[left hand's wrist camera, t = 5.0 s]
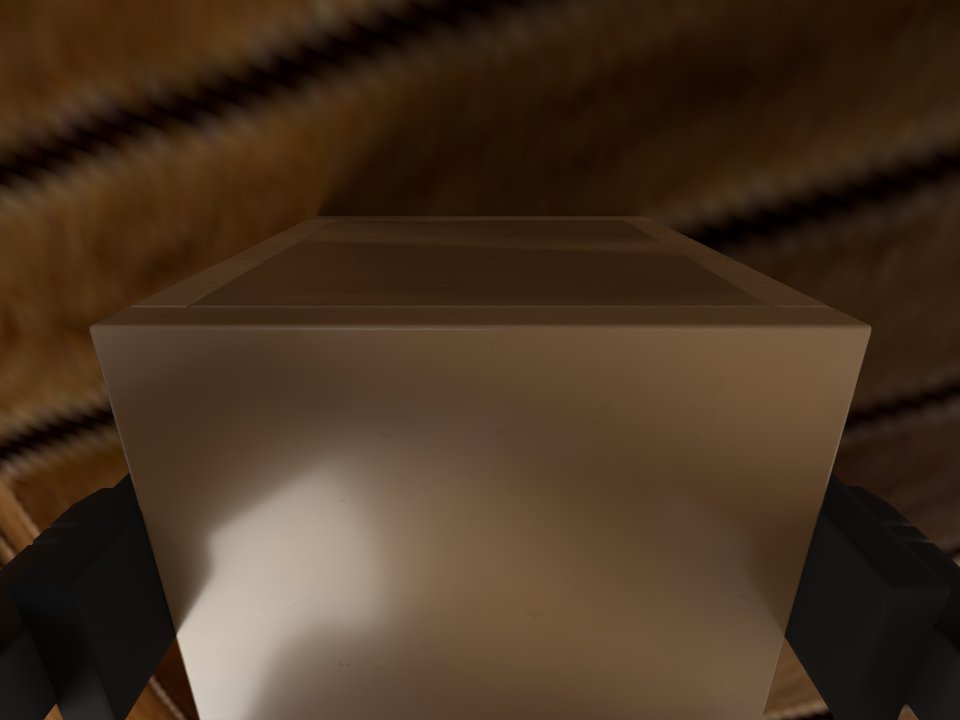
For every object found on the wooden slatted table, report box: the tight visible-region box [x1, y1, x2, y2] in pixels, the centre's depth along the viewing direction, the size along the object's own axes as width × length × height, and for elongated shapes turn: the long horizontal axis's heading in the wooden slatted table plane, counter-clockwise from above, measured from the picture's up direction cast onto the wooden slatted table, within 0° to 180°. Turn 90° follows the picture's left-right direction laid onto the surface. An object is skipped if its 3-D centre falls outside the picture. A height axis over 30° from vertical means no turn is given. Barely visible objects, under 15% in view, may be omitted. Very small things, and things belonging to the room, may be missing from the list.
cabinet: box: [90, 216, 871, 720], centre depth 16 cm, size 17×11×11 cm, turn 0°
